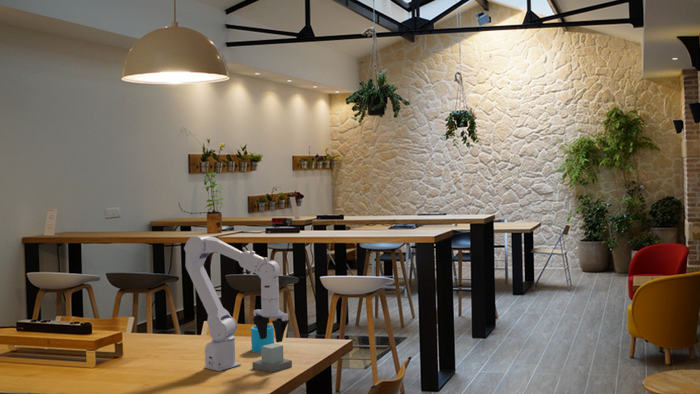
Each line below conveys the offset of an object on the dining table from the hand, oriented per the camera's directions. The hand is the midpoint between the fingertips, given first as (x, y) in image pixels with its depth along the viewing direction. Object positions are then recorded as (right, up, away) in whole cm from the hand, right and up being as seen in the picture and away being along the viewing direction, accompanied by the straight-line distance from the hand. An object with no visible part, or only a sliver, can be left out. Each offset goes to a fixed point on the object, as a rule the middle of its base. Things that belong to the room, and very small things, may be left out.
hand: (271, 340), depth 216 cm
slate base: (0, -9, 0) cm, 9 cm away
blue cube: (0, -7, 0) cm, 7 cm away
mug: (-6, -9, +27) cm, 29 cm away
